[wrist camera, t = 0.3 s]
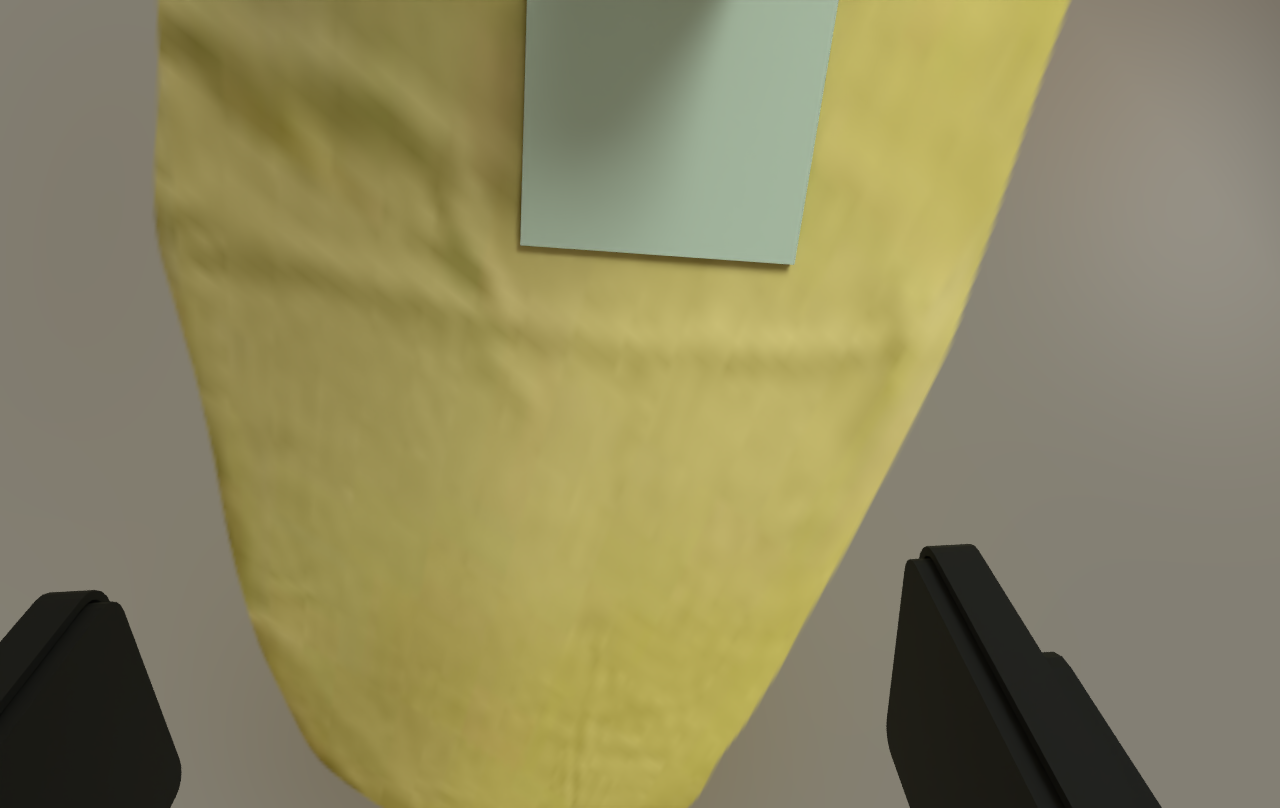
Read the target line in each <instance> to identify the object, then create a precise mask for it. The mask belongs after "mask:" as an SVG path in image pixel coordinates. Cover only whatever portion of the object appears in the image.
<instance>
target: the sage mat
mask: <svg viewBox="0 0 1280 808" xmlns="http://www.w3.org/2000/svg"><path fill="white" fill-rule="evenodd" d="M838 1H839V0H527V20H526V57H525V94H524V131H523V167H522V204H521V241H520V245H524V246H538V247H552V248H566V249H580V250H594V251H608V252H622V253H636V254H651V255H665V256H679V257H693V258H707V259H721V260H735V261H749V262H763V263H777V264H791V265H794V263H795V257H796V251H797V245H798V239H799V234H800V228H801V222H802V216H803V210H804V204H805V198H806V192H807V186H808V180H809V174H810V168H811V162H812V156H813V150H814V144H815V138H816V132H817V126H818V120H819V114H820V108H821V102H822V96H823V90H824V84H825V78H826V72H827V66H828V60H829V54H830V49H831V43H832V37H833V31H834V25H835V19H836V13H837V7H838Z"/></svg>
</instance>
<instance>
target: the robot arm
mask: <svg viewBox="0 0 1280 808" xmlns="http://www.w3.org/2000/svg"><path fill="white" fill-rule="evenodd" d="M886 727H887V738H888V744H889V749H890V752H891V755H892V759H893V761H894V764H895V767H896V770H897V772H898V775H899V778H900V781H901V784H902V787H903V789H904V792H905V795H906V798H907V800H908V803H909V806H910V808H1161V806H1160V804H1159V803H1158V801H1157V800H1156V798H1155V797H1154V795H1153V793H1152V792H1151V790H1150V789H1149V787H1148V786H1147V784H1146V783H1145V781H1144V780H1143V778H1142V777H1141V775H1140V773H1139V772H1138V770H1137V769H1136V767H1135V766H1134V764H1133V763H1132V761H1131V760H1130V758H1129V756H1128V755H1127V754H1126V752H1125V750H1124V749H1123V747H1122V746H1121V744H1120V743H1119V741H1118V740H1117V738H1116V736H1115V735H1114V733H1113V732H1112V730H1111V729H1110V727H1109V726H1108V724H1107V723H1106V721H1105V719H1104V718H1103V716H1102V715H1101V713H1100V712H1099V710H1098V709H1097V707H1096V706H1095V704H1094V703H1093V701H1092V700H1091V698H1090V696H1089V695H1088V693H1087V692H1086V690H1085V689H1084V687H1083V685H1082V684H1081V682H1080V681H1079V679H1078V678H1077V676H1076V675H1075V673H1074V672H1073V670H1072V669H1071V667H1070V666H1069V665H1068V663H1067V662H1066V661H1065V660H1064V658H1063V657H1062V656H1060V655H1058V654H1056V653H1055V652H1044V653H1043V652H1041V650H1040V649H1039V647H1038V645H1037V644H1036V642H1035V641H1034V639H1033V637H1032V636H1031V634H1030V633H1029V631H1028V629H1027V628H1026V626H1025V625H1024V623H1023V621H1022V620H1021V618H1020V616H1019V615H1018V614H1017V612H1016V610H1015V608H1014V607H1013V605H1012V604H1011V602H1010V600H1009V599H1008V597H1007V596H1006V594H1005V592H1004V591H1003V589H1002V587H1001V586H1000V584H999V583H998V581H997V580H996V578H995V576H994V575H993V573H992V571H991V570H990V568H989V566H988V565H987V563H986V562H985V560H984V559H983V557H982V555H981V554H980V552H979V550H978V549H977V548H976V547H975V546H974V545H972V544H960V545H941V546H926V547H924V548H923V549H922V551H921V553H920V557H919V559H910V560H908V561H907V563H906V566H905V571H904V579H903V588H902V597H901V604H900V613H899V622H898V630H897V638H896V647H895V655H894V664H893V671H892V680H891V688H890V697H889V705H888V713H887V726H886ZM180 781H181V764H180V760H179V757H178V754H177V751H176V749H175V746H174V744H173V741H172V738H171V735H170V733H169V730H168V727H167V725H166V722H165V719H164V717H163V714H162V711H161V709H160V706H159V703H158V700H157V698H156V695H155V692H154V690H153V687H152V684H151V682H150V679H149V677H148V674H147V671H146V668H145V666H144V663H143V660H142V658H141V655H140V653H139V650H138V647H137V644H136V642H135V639H134V636H133V634H132V631H131V629H130V626H129V623H128V620H127V618H126V615H125V612H124V610H123V608H122V607H121V605H120V604H118V603H117V602H110V601H109V599H108V597H107V596H106V595H105V594H104V593H103V592H101V591H97V590H88V591H70V592H52V593H47V594H44V595H42V596H41V597H39V598H38V599H37V600H36V601H35V602H34V603H33V604H32V606H31V607H30V608H29V609H28V610H27V611H26V612H25V614H24V615H23V616H22V617H21V618H20V619H19V621H18V622H17V623H16V624H15V625H14V626H13V628H12V629H11V630H10V631H9V632H8V634H7V635H6V636H5V637H4V638H3V639H2V640H1V642H0V808H170V807H171V805H172V803H173V801H174V799H175V797H176V795H177V792H178V790H179V786H180Z"/></svg>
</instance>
